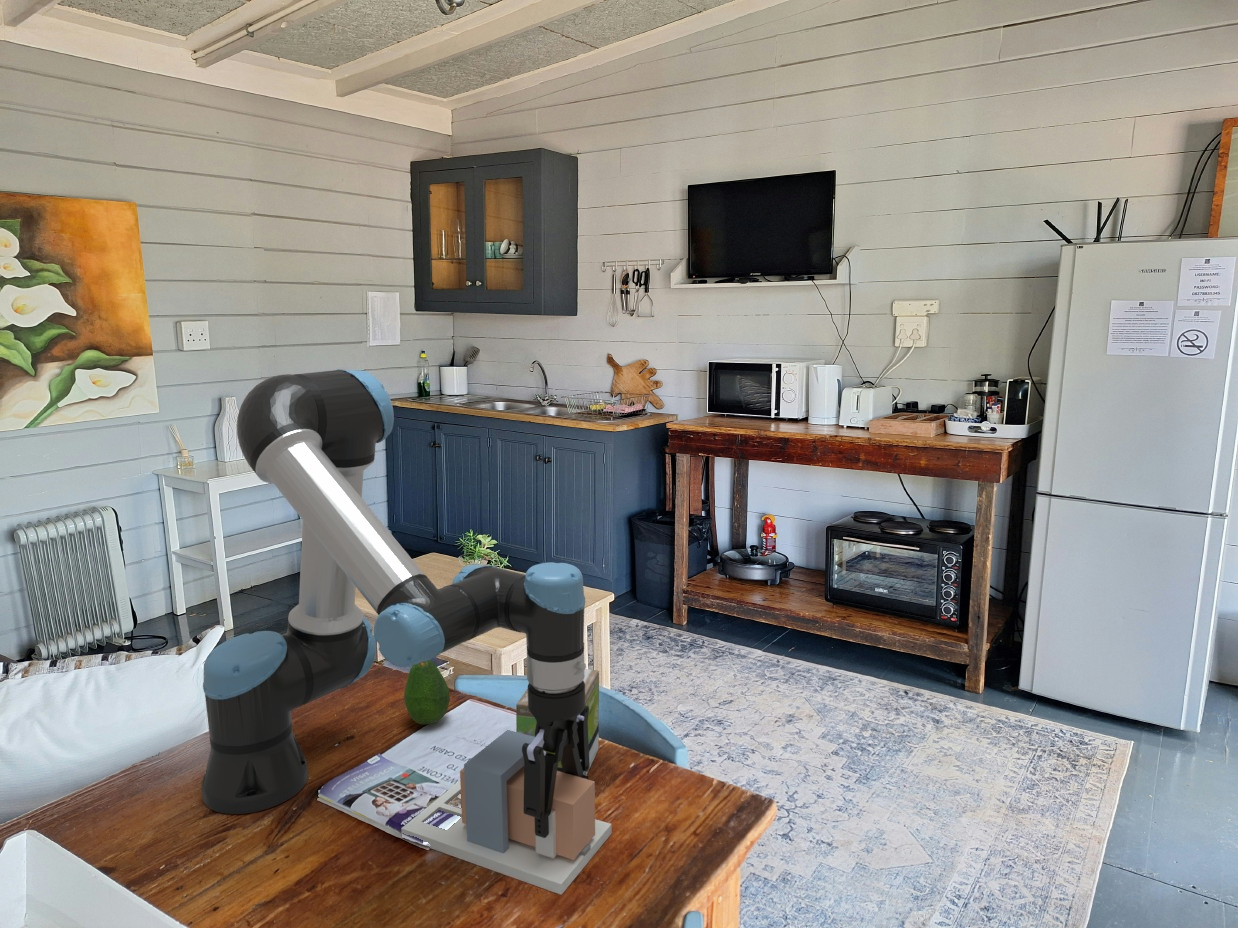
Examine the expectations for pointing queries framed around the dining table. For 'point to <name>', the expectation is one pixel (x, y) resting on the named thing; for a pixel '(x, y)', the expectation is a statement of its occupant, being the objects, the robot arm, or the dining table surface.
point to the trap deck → (498, 822)
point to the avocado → (426, 693)
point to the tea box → (591, 680)
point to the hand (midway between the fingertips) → (558, 839)
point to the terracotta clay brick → (568, 803)
